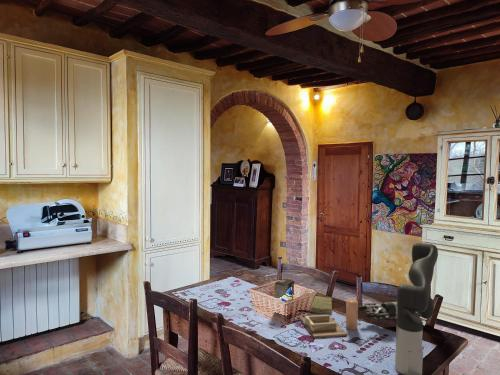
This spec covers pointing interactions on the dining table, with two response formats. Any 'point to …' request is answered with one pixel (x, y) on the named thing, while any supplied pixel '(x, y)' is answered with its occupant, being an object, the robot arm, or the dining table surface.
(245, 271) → the dining table surface
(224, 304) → the dining table surface
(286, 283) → the coffee box
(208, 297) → the dining table surface
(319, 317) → the dock
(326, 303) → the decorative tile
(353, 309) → the tan wooden cylinder
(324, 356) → the dining table surface
